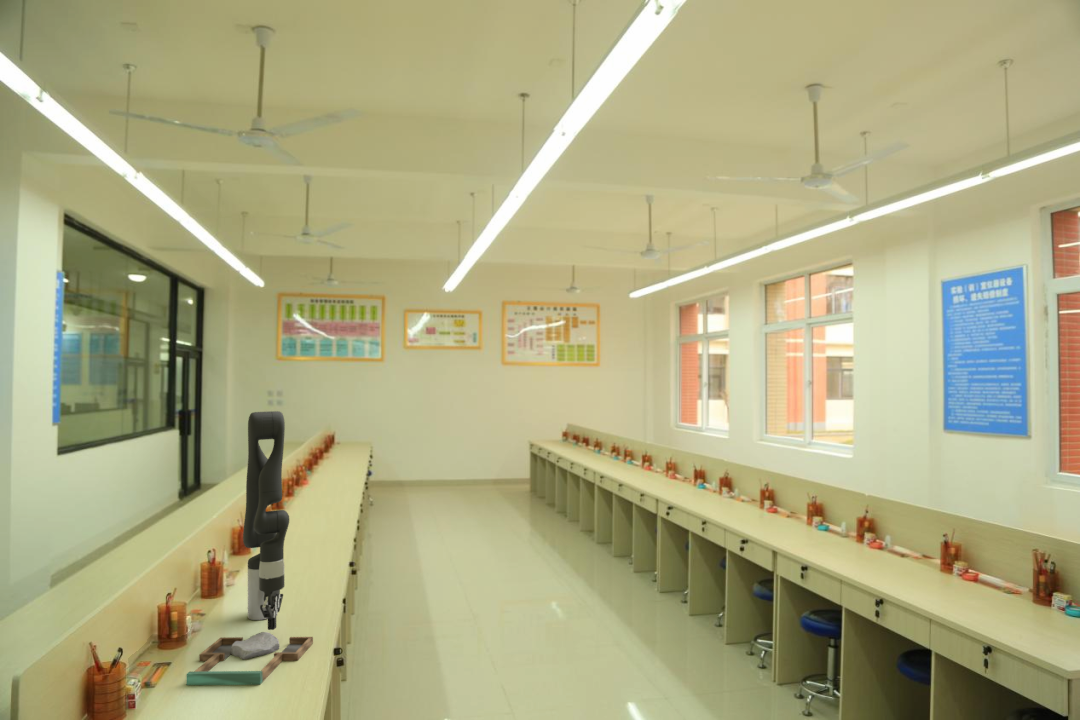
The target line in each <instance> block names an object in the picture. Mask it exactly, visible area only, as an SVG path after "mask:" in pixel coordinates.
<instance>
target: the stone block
mask: <svg viewBox="0 0 1080 720" xmlns="http://www.w3.org/2000/svg"><path fill="white" fill-rule="evenodd" d="M279 649H280V642H279V639H278V637H276V636H275V635H274V634H272V633H271V632H268V631H267V632H266V631H261V632H258V633H256V634H253V635H252V636H250V637H249V638H247V639H245V640H244V639H243V641H236V642H234V643H233V645H232V647H231V653H232V654H231V655H232V656H234V657H237V658H238V657H239V658H240V659H241V660H249V659H252V658H256V657H259V656H264V655H265V656H266V655H268V654H272V653H273V654H274V653H275V652H276V651H278V650H279Z"/></svg>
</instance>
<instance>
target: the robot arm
mask: <svg viewBox="0 0 1080 720" xmlns="http://www.w3.org/2000/svg"><path fill="white" fill-rule="evenodd" d="M285 423H286V421H285V415H284V414H283V412H282V411H278V410H274V411H272V410H271V411H254V412H251V413H250V414H249V416H248V422H247V444H248V445H247V446H248V447H247V448H248V450H247V451H248V452H247V453H248V455H247V456H248V457H247V469H246V470H247V472H246V482H245V483H246V486H245V487H246V488H245V490H246V491H245V492H246V493H245V494H246V495H245V498H246V499H245V512H244V513H245V514H244V521H243V522H244V523H243V530H242V531H243V533H242V540H243V545H244V547H245V548H247V549H255V548H259V553H258V554H256V555H254V556H251V557H250V558H249V559H248V560H247V618H248V619H249V620H252V621H261V620H262V621H263V620H266V619H267V630H269V631H273V630H275V629H277V616H278V613H280V610H281V607H282V604H283V603H282V602H283V597H284V594H283V593H281V590H283V589H284V588H285V562H284V561H285V559H284V547H285V546H284V545H285V539H286V535H287V532H288V527H289V526H290V525H289V524H290V515H289V513H288V512H287V511H286V510H285V509H284V510H283V509H282V510H281V509H278V510H267V508H268V507H269V506H270V505H273V504H277V503H280V502H281V501H282V500H283V481H282V478H283V477H282V474H283V473H282V471H283V470H282V469H283V457H284V446H285V445H284V444H285V433H286V432H285V431H286V430H285V429H286V425H285ZM260 440H261V441H262V440H273V447H272V450H271V453H270V455H269V457H268V458H267V456H266V455H265V453H264V451H263V450H262V448H261V445H260V444H259V443H260V442H259V441H260Z"/></svg>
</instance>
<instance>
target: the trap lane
mask: <svg viewBox="0 0 1080 720" xmlns="http://www.w3.org/2000/svg"><path fill="white" fill-rule="evenodd" d="M243 640H244V637H243V636H242V637H241V636H240V637H239V636H238V637H237V636H235V637H232V636H231V637H219V638H218V639H217V640H216V641H214V642H213V643H212V644H210V645H209V646H208V647H207V648H206V649H204V650H203V651H202V652H200V653H199V655H198V659H199V661H198V662H203V663H202V664H201V665H199V667H197V668H196V669H195V670H194V671H189V672H187V673H186V686H231V685H232V686H234V685H235V686H238V685H239V686H240V685H241V686H243V685H245V686H246V685H247V686H249V685H250V686H251V685H254V686H255V685H257V686H258V685H261V684H262V683H264V681H265V680H266V679H267V678H268V677H269V676H270V674H272V673H273V672H274V670H275V669H276V668H277V667H278V666H279V665H280V664H281V663H282V662H283V661H284V662H286V661H289V662H291V661H292V662H295V661H299V660H300V659H301V657H302V656H303V655H304V654H305V653H306V652H307V651H308V650H309V648H310V647H311V646H312V645H313V643H314V637H313V636H290V637H289V639H288V641H289V643H288V645H287V646H286V647H285V648H284V649H283V650H282V651H281V652H278V651H277V652H276V651H274V652H273V658H272V659H271V660H270V661H269V662H268V663H267V664H265V666H264V667H263V668H262V669H261V670H248V671H247V670H230V671H229V670H228V671H227V670H226V671H225V670H223V671H222V670H220V671H219V670H218V671H217V670H216V671H215V670H214V671H210V670H211V669H213V667H215V666H217V664H218V663H220V662H224V661H225V660H226V659H227V658H229V656H230V655H232V653H231V647H232V645H233V643H234V642H236V641H243Z"/></svg>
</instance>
